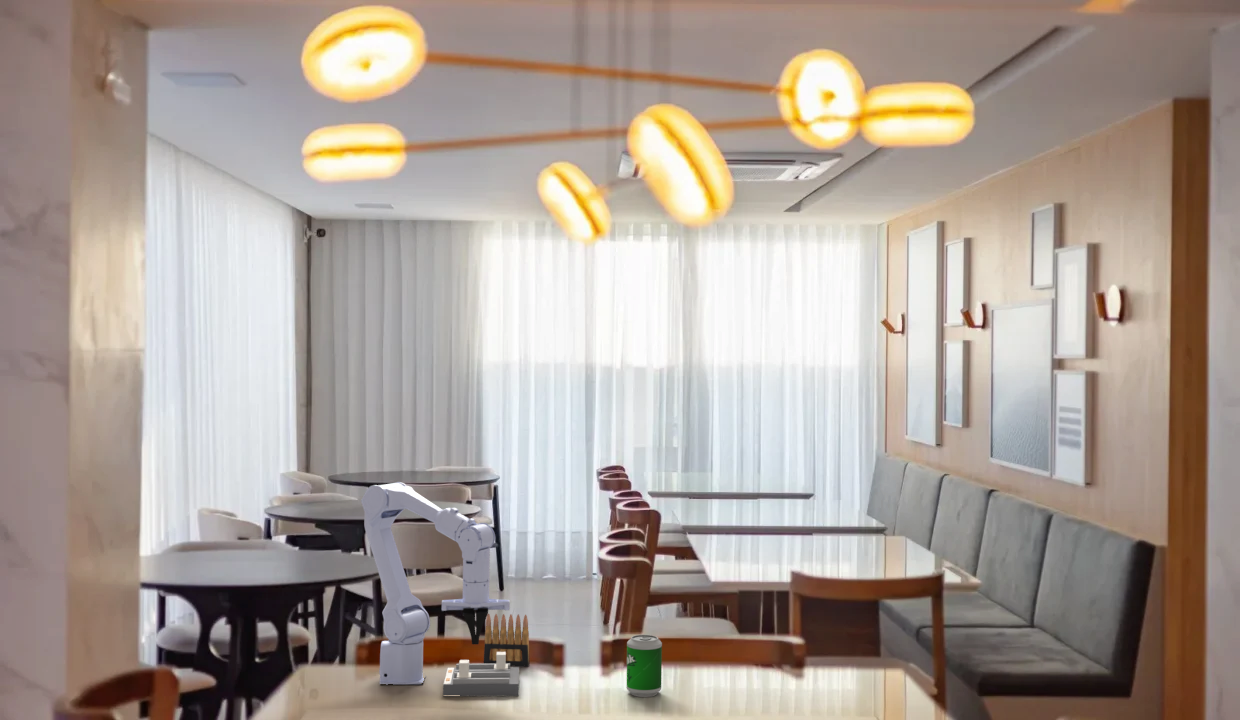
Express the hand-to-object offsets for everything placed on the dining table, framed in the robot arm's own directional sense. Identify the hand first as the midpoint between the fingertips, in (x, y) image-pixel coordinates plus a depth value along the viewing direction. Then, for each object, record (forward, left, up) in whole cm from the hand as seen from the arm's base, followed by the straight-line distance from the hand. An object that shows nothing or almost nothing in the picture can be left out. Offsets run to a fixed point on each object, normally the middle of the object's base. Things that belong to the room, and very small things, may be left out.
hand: (475, 643), depth 258 cm
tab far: (+5, +7, -8) cm, 12 cm away
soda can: (+36, -3, -11) cm, 38 cm away
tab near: (-2, 0, -8) cm, 8 cm away
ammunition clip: (+6, +22, -11) cm, 26 cm away
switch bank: (+1, +3, -10) cm, 11 cm away
